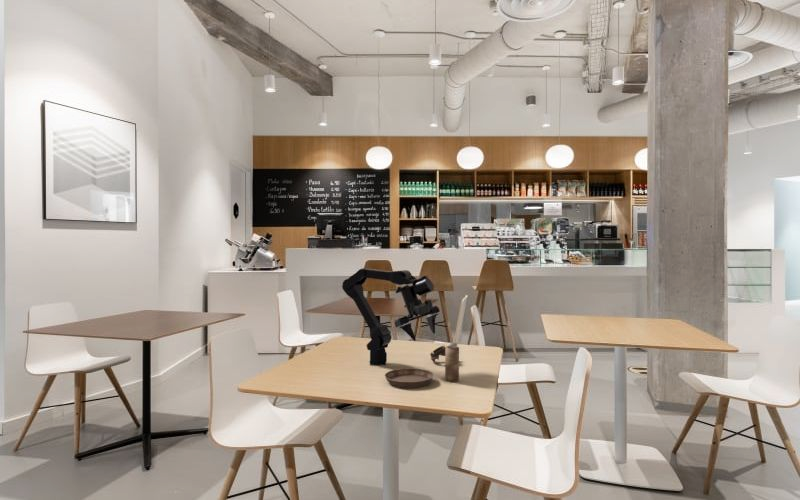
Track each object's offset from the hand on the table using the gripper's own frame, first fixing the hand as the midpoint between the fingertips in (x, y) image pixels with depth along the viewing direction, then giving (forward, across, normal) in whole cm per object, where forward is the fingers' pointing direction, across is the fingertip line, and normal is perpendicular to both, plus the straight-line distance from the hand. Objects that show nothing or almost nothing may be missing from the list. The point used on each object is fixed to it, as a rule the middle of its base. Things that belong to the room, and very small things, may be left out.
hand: (424, 337), depth 189 cm
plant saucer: (+13, -16, -8) cm, 23 cm away
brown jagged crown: (+13, +11, +12) cm, 20 cm away
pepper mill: (+18, -2, -12) cm, 22 cm away
